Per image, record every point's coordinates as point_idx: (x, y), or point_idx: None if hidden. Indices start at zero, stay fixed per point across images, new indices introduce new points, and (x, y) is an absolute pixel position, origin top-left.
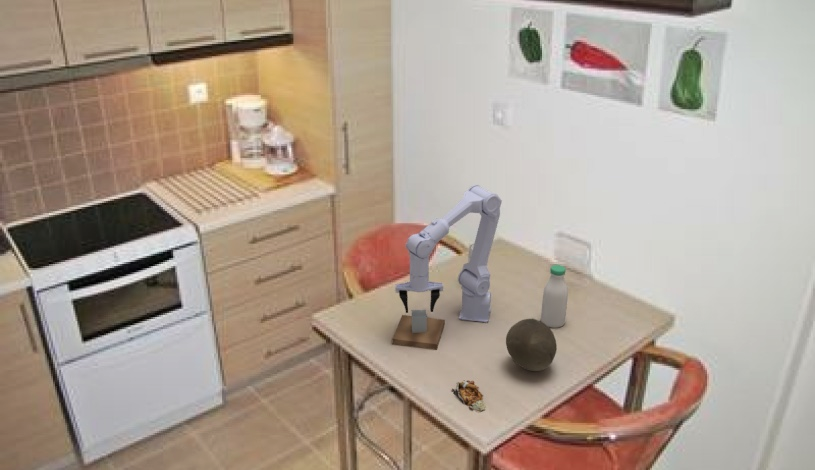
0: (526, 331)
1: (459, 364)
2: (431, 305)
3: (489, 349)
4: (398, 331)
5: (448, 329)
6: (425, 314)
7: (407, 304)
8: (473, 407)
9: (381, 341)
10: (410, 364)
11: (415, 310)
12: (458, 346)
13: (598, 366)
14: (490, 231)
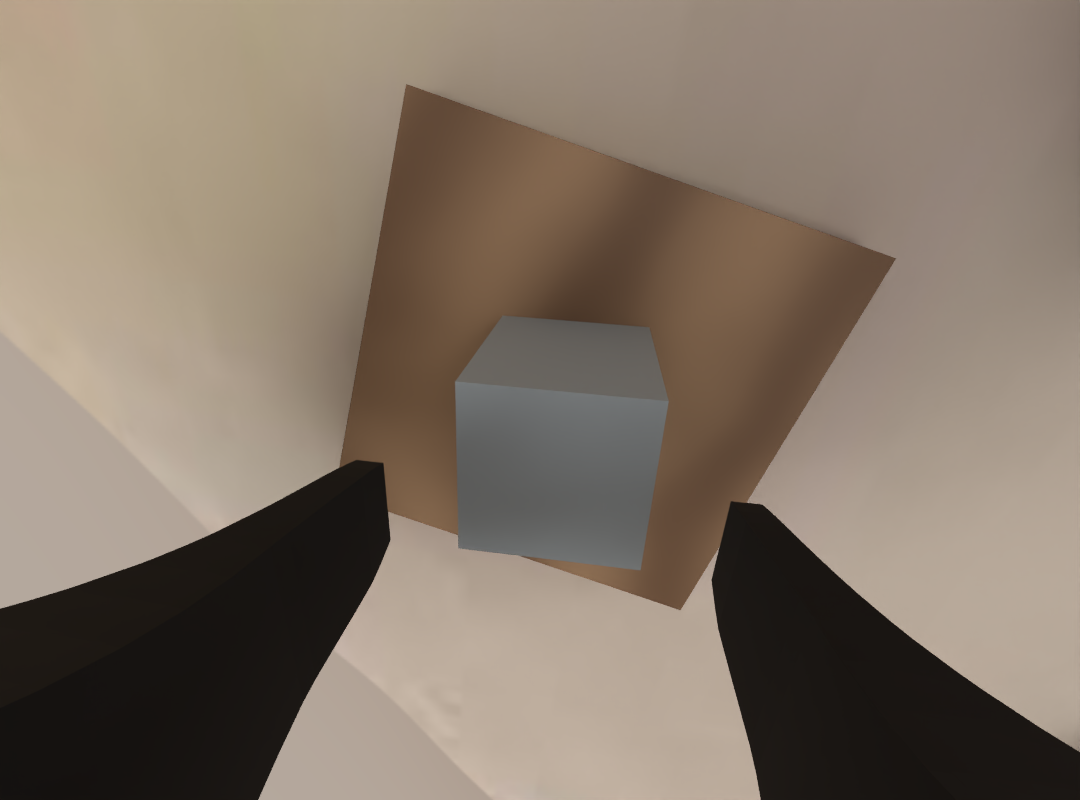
0: None
1: None
2: (744, 722)
3: (1077, 635)
4: (379, 407)
5: (869, 332)
6: (637, 510)
7: (303, 699)
8: None
9: (276, 420)
10: (478, 661)
11: (512, 400)
12: (850, 566)
13: None
14: None
